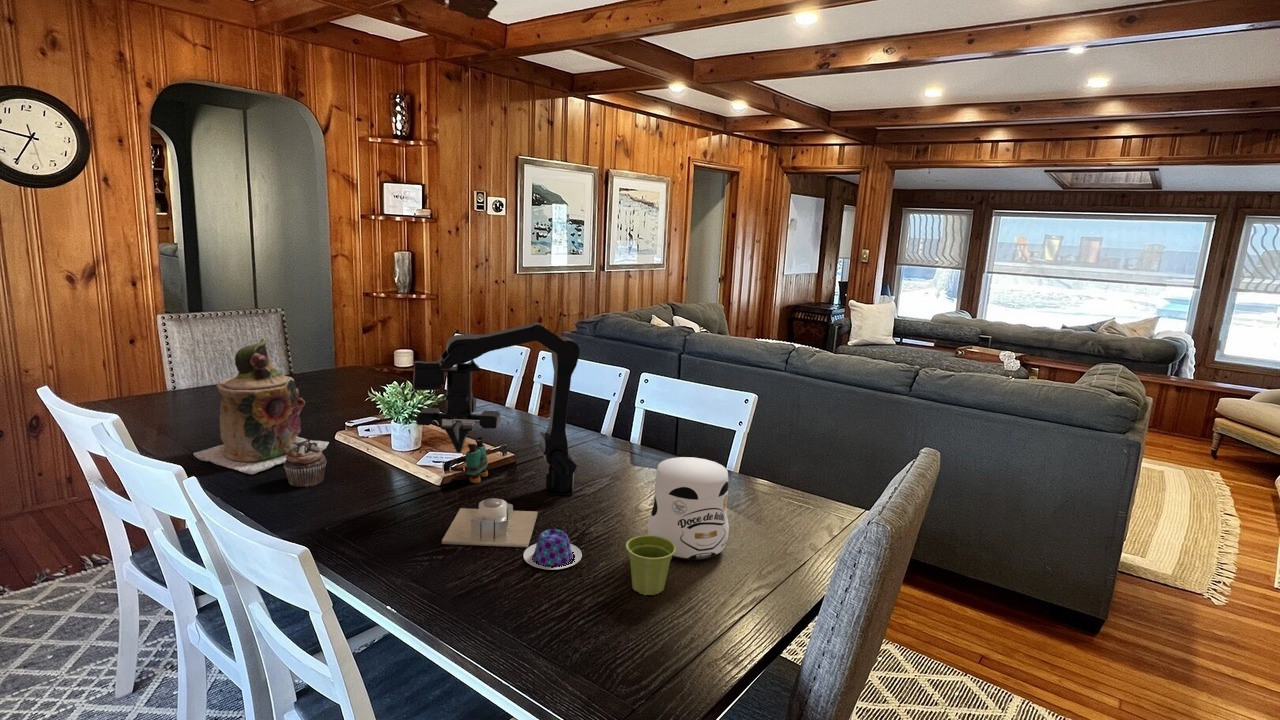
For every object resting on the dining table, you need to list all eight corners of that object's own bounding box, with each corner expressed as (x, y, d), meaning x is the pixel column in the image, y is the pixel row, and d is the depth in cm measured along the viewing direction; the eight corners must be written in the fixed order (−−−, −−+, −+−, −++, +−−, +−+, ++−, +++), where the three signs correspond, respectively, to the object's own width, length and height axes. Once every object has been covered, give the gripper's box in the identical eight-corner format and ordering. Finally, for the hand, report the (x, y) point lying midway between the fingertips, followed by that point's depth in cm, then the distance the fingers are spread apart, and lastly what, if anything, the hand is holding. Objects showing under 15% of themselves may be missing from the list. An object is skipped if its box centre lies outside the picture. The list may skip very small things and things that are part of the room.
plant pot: (622, 574, 132) (624, 534, 130) (669, 575, 133) (672, 535, 131) (624, 601, 123) (627, 558, 121) (675, 601, 124) (678, 558, 122)
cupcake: (276, 482, 166) (273, 444, 164) (311, 470, 175) (309, 434, 172) (301, 491, 162) (299, 452, 160) (335, 479, 170) (334, 441, 168)
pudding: (537, 540, 145) (538, 517, 144) (589, 549, 142) (590, 527, 141) (513, 566, 133) (513, 542, 132) (569, 577, 130) (570, 553, 129)
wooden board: (537, 514, 156) (537, 498, 156) (527, 547, 141) (528, 529, 140) (460, 511, 156) (460, 495, 155) (441, 543, 140) (441, 526, 139)
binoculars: (456, 434, 180) (491, 435, 178) (460, 472, 182) (494, 473, 180) (440, 445, 171) (476, 445, 169) (444, 484, 173) (480, 485, 171)
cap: (508, 519, 151) (509, 497, 150) (503, 531, 145) (503, 507, 144) (482, 518, 151) (482, 495, 150) (475, 530, 145) (475, 506, 144)
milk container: (704, 576, 133) (711, 492, 130) (631, 550, 142) (636, 471, 138) (739, 544, 148) (746, 467, 144) (671, 522, 156) (676, 449, 153)
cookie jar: (188, 459, 178) (179, 341, 171) (270, 434, 200) (264, 329, 194) (255, 477, 169) (247, 353, 162) (332, 449, 191) (328, 339, 185)
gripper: (505, 383, 165) (504, 443, 168) (429, 379, 165) (429, 439, 168) (496, 394, 154) (495, 458, 157) (415, 390, 154) (416, 454, 157)
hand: (459, 452), depth 160 cm, fingers closed
